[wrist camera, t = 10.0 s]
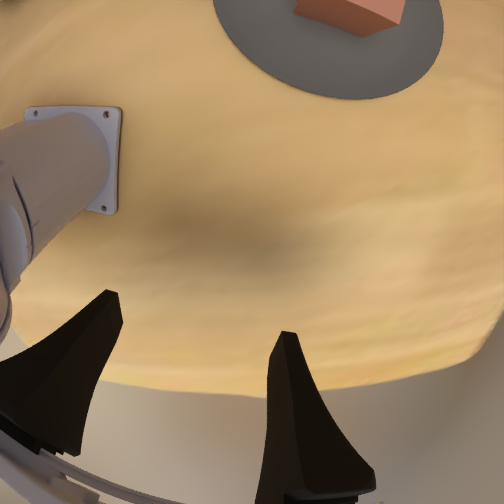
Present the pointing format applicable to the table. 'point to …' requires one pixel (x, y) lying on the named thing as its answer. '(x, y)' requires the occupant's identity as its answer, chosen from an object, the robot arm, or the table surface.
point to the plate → (334, 47)
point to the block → (353, 14)
